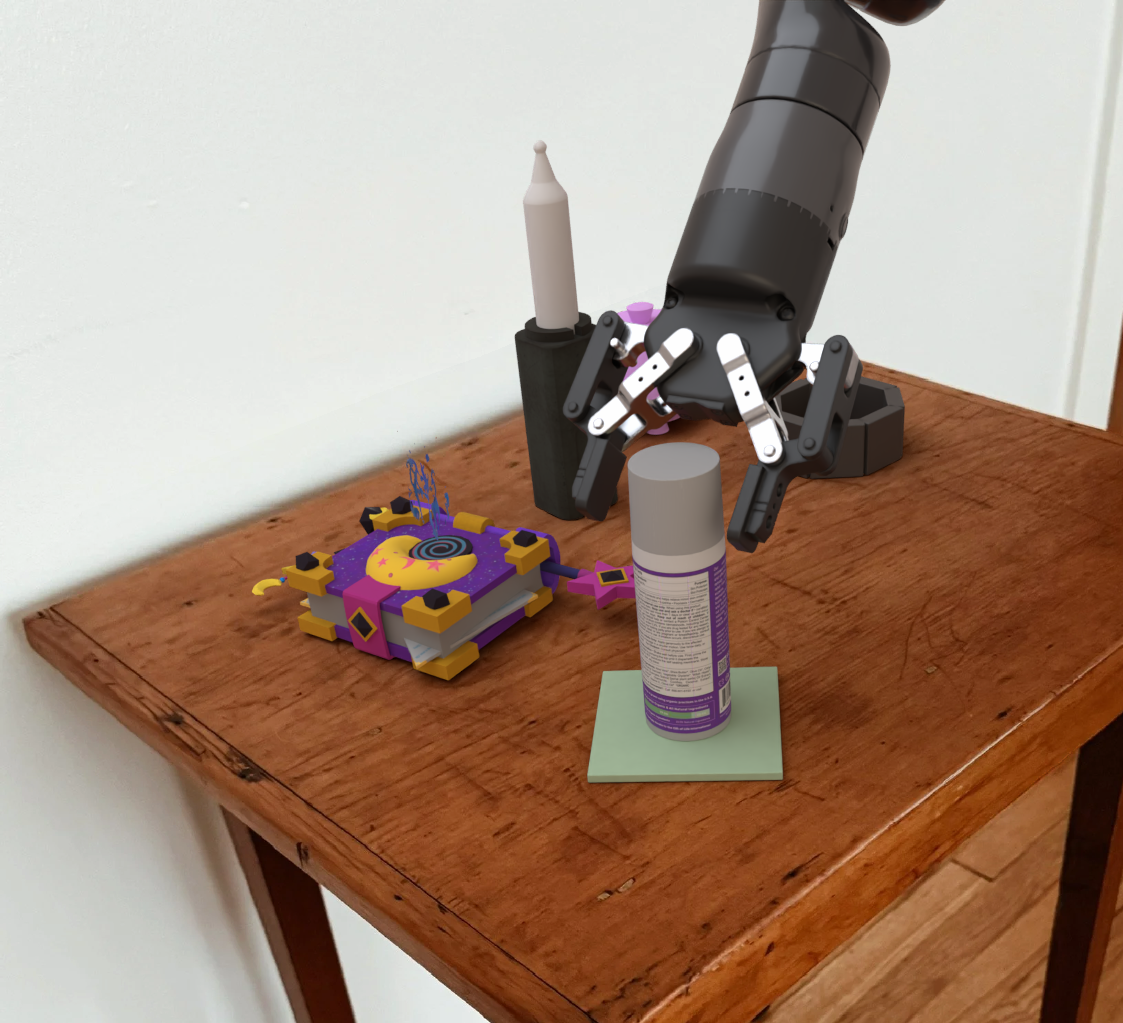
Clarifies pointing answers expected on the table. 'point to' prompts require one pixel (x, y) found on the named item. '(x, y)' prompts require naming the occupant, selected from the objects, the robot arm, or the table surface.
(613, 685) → the mat
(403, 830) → the table surface
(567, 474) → the candle
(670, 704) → the container
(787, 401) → the ring
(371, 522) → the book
